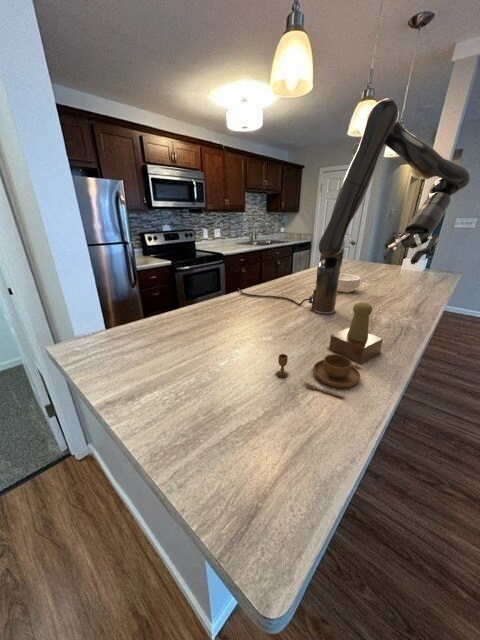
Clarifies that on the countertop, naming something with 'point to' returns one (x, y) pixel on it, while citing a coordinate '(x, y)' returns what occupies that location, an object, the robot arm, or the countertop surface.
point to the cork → (360, 322)
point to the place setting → (329, 371)
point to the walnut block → (355, 346)
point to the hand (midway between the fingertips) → (398, 260)
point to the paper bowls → (348, 283)
